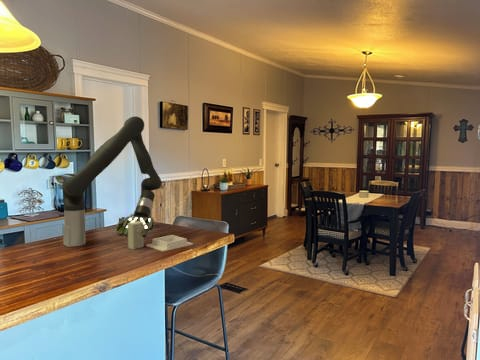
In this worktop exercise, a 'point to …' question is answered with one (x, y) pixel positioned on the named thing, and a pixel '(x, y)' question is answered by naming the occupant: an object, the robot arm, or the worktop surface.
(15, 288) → the worktop surface
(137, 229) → the skincare box
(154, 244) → the holder
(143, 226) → the coffee mug
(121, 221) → the green bumpy clump
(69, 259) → the worktop surface
